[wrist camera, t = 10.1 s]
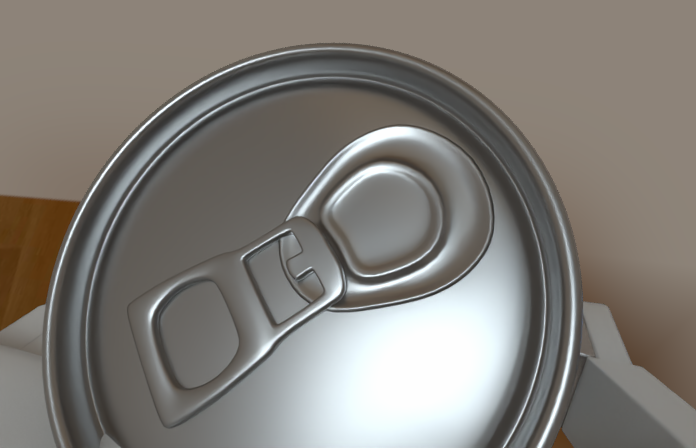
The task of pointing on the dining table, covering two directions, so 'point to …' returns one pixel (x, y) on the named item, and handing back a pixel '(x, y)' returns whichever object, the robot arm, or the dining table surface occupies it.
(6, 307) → the dining table surface
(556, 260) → the can
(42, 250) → the dining table surface
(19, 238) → the dining table surface
